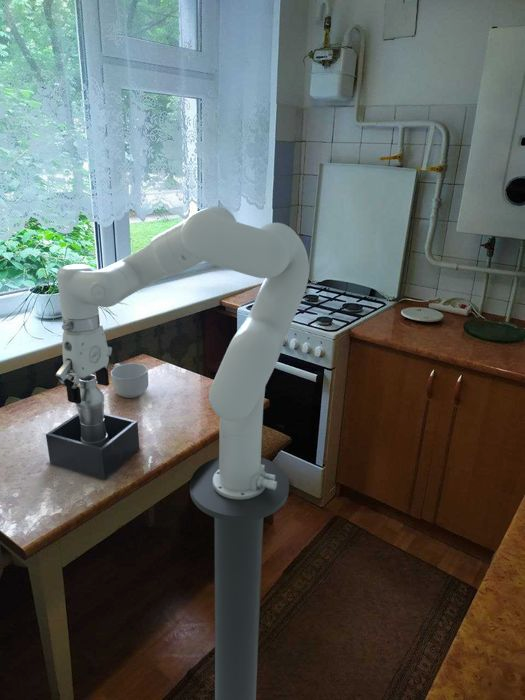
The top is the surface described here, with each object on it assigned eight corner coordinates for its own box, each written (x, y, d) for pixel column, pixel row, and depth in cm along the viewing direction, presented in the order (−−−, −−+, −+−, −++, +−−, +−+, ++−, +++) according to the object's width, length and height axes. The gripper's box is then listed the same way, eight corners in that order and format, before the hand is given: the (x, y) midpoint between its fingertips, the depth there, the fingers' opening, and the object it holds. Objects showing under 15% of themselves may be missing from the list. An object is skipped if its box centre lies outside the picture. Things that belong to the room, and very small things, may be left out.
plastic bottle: (99, 463, 116) (90, 386, 108) (75, 456, 118) (65, 380, 110) (115, 448, 121) (108, 375, 114) (92, 442, 123) (84, 369, 116)
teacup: (154, 396, 150) (153, 372, 147) (119, 405, 144) (117, 380, 141) (137, 379, 160) (136, 356, 157) (104, 386, 154) (102, 363, 151)
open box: (139, 449, 123) (137, 421, 120) (104, 480, 112) (101, 449, 109) (88, 435, 128) (85, 408, 125) (50, 463, 117) (45, 434, 114)
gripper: (67, 337, 98) (76, 413, 105) (120, 313, 113) (125, 381, 120) (37, 332, 101) (48, 406, 107) (93, 309, 116) (100, 375, 122)
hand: (89, 393), depth 114 cm, fingers open, 9 cm apart
